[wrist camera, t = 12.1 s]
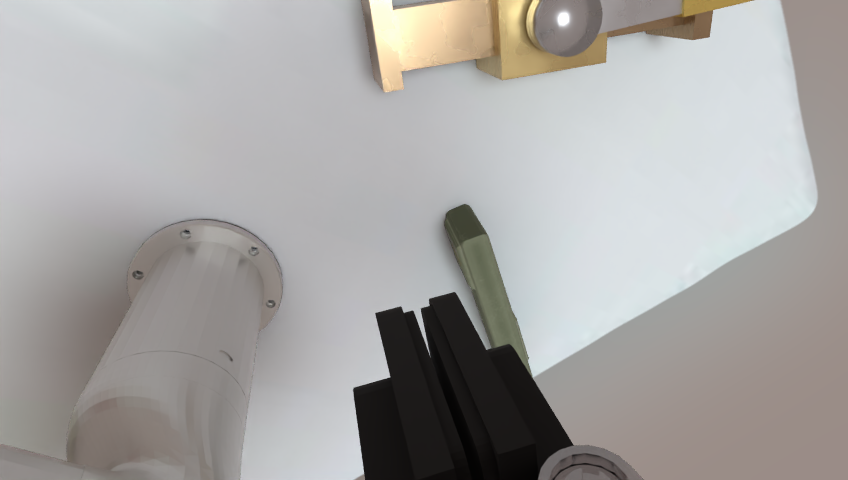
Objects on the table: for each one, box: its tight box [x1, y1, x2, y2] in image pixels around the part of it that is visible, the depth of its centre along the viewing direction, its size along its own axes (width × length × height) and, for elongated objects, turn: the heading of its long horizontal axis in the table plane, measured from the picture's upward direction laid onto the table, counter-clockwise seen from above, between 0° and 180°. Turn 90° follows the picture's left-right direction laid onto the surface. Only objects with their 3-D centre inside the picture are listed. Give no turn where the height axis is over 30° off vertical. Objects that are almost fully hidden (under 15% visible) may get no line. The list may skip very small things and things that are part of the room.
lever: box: [526, 0, 753, 57], centre depth 34 cm, size 16×4×2 cm, turn 101°
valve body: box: [361, 0, 713, 92], centre depth 38 cm, size 7×25×6 cm, turn 97°
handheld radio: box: [445, 204, 533, 378], centre depth 50 cm, size 7×3×25 cm
